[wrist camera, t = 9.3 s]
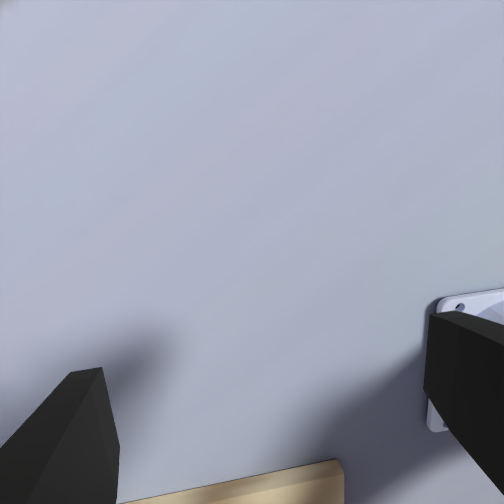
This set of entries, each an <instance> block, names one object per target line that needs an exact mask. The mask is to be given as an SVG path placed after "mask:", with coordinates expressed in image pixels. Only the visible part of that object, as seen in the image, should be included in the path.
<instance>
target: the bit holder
mask: <svg viewBox="0 0 504 504" xmlns="http://www.w3.org/2000/svg"><path fill="white" fill-rule="evenodd" d="M123 504H344V472H343V470H342V468H341V466H340V464H339V461H338V459H334V460H329V461H325V462H320V463H315V464H310V465H305V466H301V467H296V468H291V469H286V470H282V471H277V472H272V473H267V474H262V475H258V476H253V477H248V478H243V479H238V480H234V481H229V482H224V483H219V484H214V485H210V486H205V487H200V488H195V489H191V490H186V491H181V492H176V493H171V494H167V495H162V496H157V497H152V498H147V499H143V500H138V501H133V502H128V503H123Z"/></svg>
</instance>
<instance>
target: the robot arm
mask: <svg viewBox="0 0 504 504" xmlns="http://www.w3.org/2000/svg"><path fill="white" fill-rule="evenodd" d="M459 303H460V305H459V307H458V308H456V309H455V307H456V306H457V305H458V304H459ZM423 389H424V391H425V393H426V394H427V396H428V398H429V401H428V412H427V426H428V427H429V429H430V430H431V431H432V432H442V431H447V430H450V431H451V432H452V434H453V435H454V436H455V437H456V439H457V440H458V441H459V442H460V444H461V445H462V446H463V447H464V448H465V450H466V451H467V452H468V453H469V455H470V456H471V457H472V458H473V459H474V461H475V462H476V463H477V464H478V465H479V467H480V468H481V469H482V470H483V471H484V472H485V474H486V475H487V476H488V477H489V478H490V480H491V481H492V482H493V483H494V484H495V486H496V487H497V488H498V489H499V490H500V492H501V493H502V494H503V495H504V288H502V289H496V290H489V291H483V292H476V293H470V294H464V295H457V296H451V297H446V298H443V299H442V300H441V301H440V302H439V303H438V306H437V312H436V313H435V314H430V317H429V329H428V341H427V353H426V364H425V376H424V388H423ZM119 453H120V445H119V441H118V436H117V432H116V427H115V423H114V418H113V414H112V409H111V405H110V400H109V396H108V392H107V387H106V383H105V378H104V374H103V369H102V367H99V368H93V369H87V370H81V371H75V372H70V373H69V374H68V375H67V376H66V377H65V378H64V380H63V381H62V382H61V383H60V384H59V385H58V386H57V387H56V388H55V389H54V390H53V392H52V393H51V394H50V395H49V396H48V397H47V398H46V399H45V400H44V402H43V403H42V404H41V405H40V406H39V407H38V408H37V409H36V410H35V412H34V413H33V414H32V415H31V416H30V417H29V418H28V419H27V420H26V421H25V422H24V423H23V424H22V426H21V427H20V428H19V429H18V430H17V431H16V432H15V433H14V434H13V435H12V436H11V437H10V438H9V439H8V441H7V442H6V443H5V444H4V445H3V446H2V447H1V448H0V504H116V499H117V488H118V473H119Z"/></svg>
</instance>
